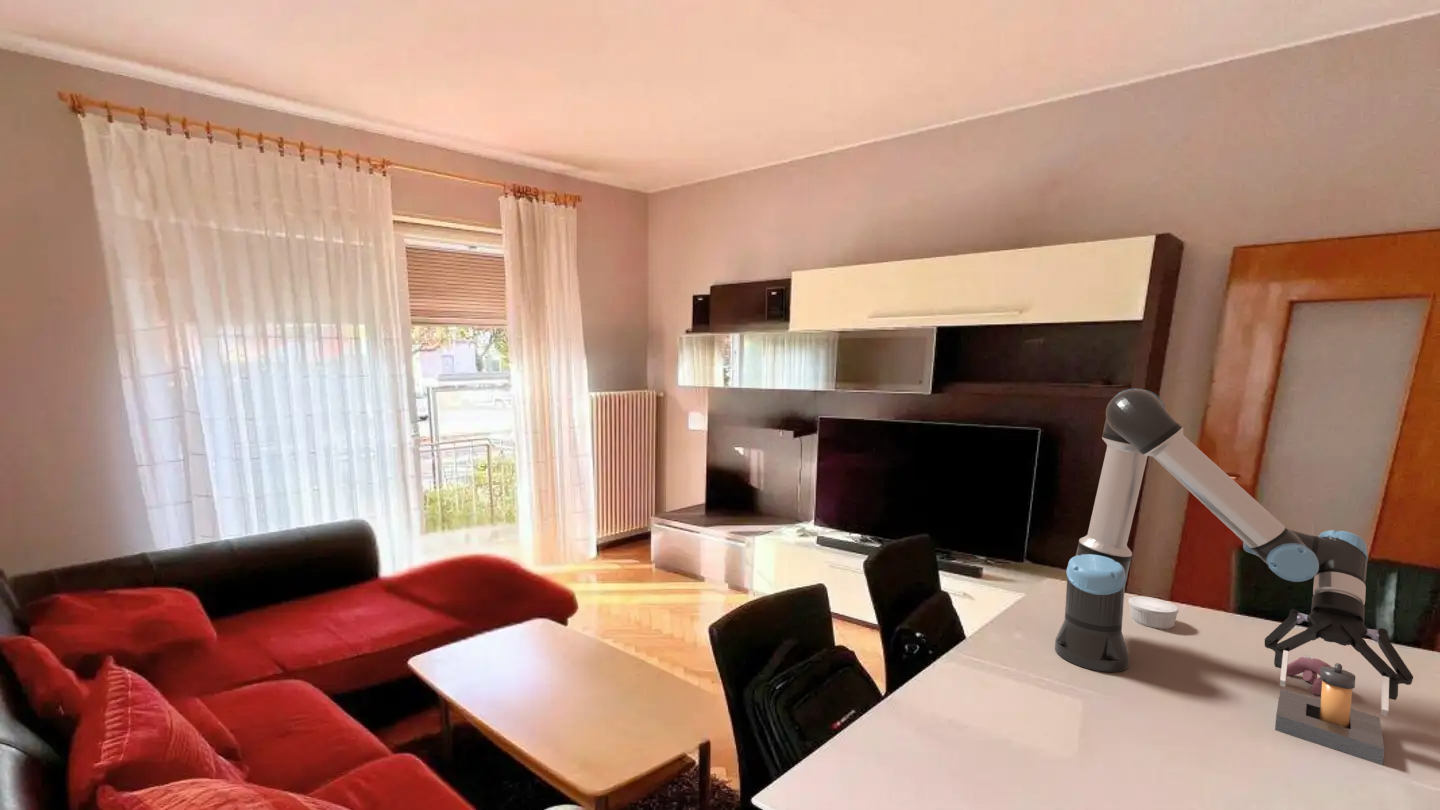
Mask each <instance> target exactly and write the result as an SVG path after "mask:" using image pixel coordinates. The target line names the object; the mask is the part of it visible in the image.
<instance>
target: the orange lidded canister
mask: <svg viewBox="0 0 1440 810" xmlns="http://www.w3.org/2000/svg"><path fill="white" fill-rule="evenodd" d="M1319 678H1320V679H1321V680H1322V691H1321V695H1320V700H1321V704H1320V717H1319V720H1322V721H1325V722H1329V723H1332V724H1335V725H1338V726H1342V727H1345V728H1348V729H1349V723H1350V711H1351V709H1352V708H1351V707H1352V697H1353V689H1355V687H1356V675H1355V674H1353V673H1352V672H1349V671H1348V670H1345V669H1343V665H1342V664H1341V663H1337V662H1336V663H1335V664H1334V666H1332V667H1328V666H1323V667H1321V675H1319Z"/></svg>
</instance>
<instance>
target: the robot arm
mask: <svg viewBox="0 0 1440 810" xmlns="http://www.w3.org/2000/svg"><path fill="white" fill-rule="evenodd" d="M1101 439H1102V440H1103V442H1104V443H1105V444H1106V449H1105V450H1106V451H1105V455H1104V460H1103V464H1102V468H1101V472H1100V477H1099V481H1098V486H1097V490H1096V495H1095V499H1094V504H1093V509H1092V514H1091V517H1090V521H1089V527H1088V531H1087V534H1086V535H1085V536H1083V537H1080V538H1079V540H1078V545H1077V549H1076V553H1075V556H1073V557H1071V558H1070V559H1069V561H1068V564H1067V567H1066V571H1065V572H1066V573H1065V574H1066V595H1065V607H1064V611H1065V612H1064V619H1063V622H1062V625H1061V626H1060V628H1059V631H1058V633H1057V634H1056V637H1055V641H1054V651H1055V652H1056V654H1057V655H1058V656H1059V657H1061V658H1062V659H1064V660H1066V661H1067V662H1069V663H1071V664H1073V665H1076V666H1079V667H1082V668H1084V669H1088V670H1093V671H1098V672H1104V673H1117V672H1118V673H1119V672H1122V671H1126V670H1127V669H1128V668H1129V665H1130V664H1129V663H1130V656H1129V652H1128V648H1127V645H1126V642H1125V638H1124V635H1123V617H1124V616H1123V615H1124V601H1125V600H1124V599H1125V592H1126V591H1125V590H1126V583H1127V581H1128V580H1127V579H1128V573H1129V569H1130V565H1131V561H1132V556H1133V552H1132V551H1131V549H1130V548H1129V546H1128V541H1129V537H1130V534H1131V533H1130V532H1131V529H1132V524H1133V521H1134V520H1133V519H1134V515H1135V511H1136V507H1137V503H1138V498H1139V495H1140V494H1139V493H1140V490H1141V486H1142V481H1143V476H1144V473H1145V468H1146V465H1147V460H1148V457H1151V458H1153V459H1154V460H1155V461H1157V463H1158V464H1160V466H1162V467H1163V468H1164V469H1165V470H1166V471H1168V473H1169V474H1171V476H1172V477H1174V478H1175V479H1176V480H1177V482H1179V484H1181V485H1182V486H1183V487H1184V488H1185V489H1186V490H1188V491H1189V493H1191V494H1192V495H1193V496H1194V497H1195V498H1196V499H1197V500H1198V501H1199V502H1201V504H1202V505H1204V506H1205V508H1207V509H1208V510H1209V511H1210V512H1211V513H1212V514H1213V515H1214V516H1215V517H1216V518H1218V520H1219V521H1221V522H1222V523H1223V524H1224V525H1225V526H1226V527H1227V528H1228V529H1230V531H1232V532H1233V533H1234V534H1235V536H1236V537H1238V539H1240V540H1241V541H1242V542H1243V543H1242V547H1243V550H1244V551H1245V552H1246V553H1249V554H1252V555H1254V556H1257V557H1259V559H1261V560H1262V561H1263V562H1264V563H1265V564H1266V565H1267V566H1268V569H1270V571H1271V572H1272V573H1273V574H1275V575H1276V576H1278V577H1279V578H1280V579H1283V580H1285V581H1289V582H1293V583H1297V582H1298V583H1300V582H1305V581H1308V580H1311V579H1313V588H1312V590H1313V591H1312V594H1313V595H1312V598H1311V610H1310V613H1309V614H1305V613H1301V612H1299V610H1298V609H1296V608H1291V609H1290V610H1289V613H1288V616H1287V617H1286V619H1285V620H1283V621H1282V622H1281V623H1279V625H1278V626H1277V627H1276V628H1275V629H1274V630H1273V631H1271V632H1270V633H1269V634H1268V635H1267V636H1266V637H1265V638H1264V648H1267V649H1270V650H1272V651H1273V652H1274V661H1273V662H1274V663H1273V665H1274V667H1275V668H1277V669H1281V671H1280V677H1279V679H1280V680H1279V686H1280V687H1283V688H1286V681H1287V675H1286V674H1287V664H1289V652H1291V651H1292V650H1295V649H1296V648H1299V647H1301V646H1303V645H1305V644H1307V643H1309V642H1311V641H1315V640H1318V639H1322V640H1324V642H1329V643H1335V644H1337V645H1341V646H1345V647H1347V646H1351V647H1352V648H1353V649H1354V650H1355V651H1356V652H1358V653H1359V654H1361V656H1362V657H1363V658H1364V659H1365V660H1366V661H1368V663H1369V664H1370V665H1371V666H1372V667H1373V668H1374V669H1375V670H1376V671H1377V672H1378V673H1379V674H1380V675H1381V676H1382V679H1381V695H1380V716H1382V717H1388V714H1389V707H1390V702H1389V701H1390V700H1394V701H1397V698H1398V696H1399V684H1400V685H1401V684H1402V685H1407V686H1411V685H1412V683H1413V681H1414V676H1413V674H1412V673H1411V671H1410V669H1409V668H1408V666H1407V665H1406V663H1405V662H1404V661H1403V659H1402V658H1401V656H1400V654H1399V653H1398V652H1397V650H1396V648H1395V647H1394V646H1393V644H1392V642H1391V641H1390V638H1389V633H1388V630H1387V629H1385V628H1382V627H1381V628H1378V629H1372V628H1367V626H1366V625H1365V615H1366V614H1365V613H1366V612H1365V611H1366V610H1365V608H1366V606H1365V603H1366V594H1367V593H1366V590H1367V588H1366V582H1367V581H1366V579H1367V567H1368V562H1369V557H1368V548H1367V544H1366V542H1365V540H1364V539H1363V538H1362V537H1360V536H1359V535H1357V534H1355V533H1352V532H1350V531H1347V530H1339V531H1337V530H1336V529H1335V530H1334V529H1331V530H1330V529H1329V530H1325V531H1323V532H1321V533H1320V534H1318V535H1312V534H1308V533H1304V532H1301V531H1296V530H1293V529H1289V528H1287V527H1286V526H1285V525H1284V524H1283V523H1281V522H1280V521H1279V520H1278V519H1277V518H1276V517H1275V516H1273V514H1271V513H1270V511H1268V510H1267V509H1266V508H1265V507H1264V506H1263V505H1261V503H1259V502H1258V501H1257V500H1256V499H1255V498H1254V497H1253V496H1252V495H1250V493H1248V492H1247V491H1246V490H1245V489H1244V488H1243V487H1242V486H1240V485H1239V484H1238V483H1237V482H1236V481H1235V480H1234V479H1233V478H1231V476H1229V475H1228V474H1227V472H1225V471H1224V470H1223V469H1221V467H1220V466H1218V465H1217V464H1216V463H1215V462H1214V461H1213V460H1211V459H1210V457H1208V456H1207V455H1206V454H1205V453H1204V452H1203V451H1202V450H1201V449H1199V447H1197V446H1196V445H1195V444H1194V443H1193V442H1191V441H1190V439H1189V438H1187V437H1186V436H1185V435H1184V427H1183V426H1181V424H1179V423H1178V422H1177V421H1176V420H1175V419H1174V418H1173V417H1172V416H1171V414H1170V413H1169V412H1168V410H1167V409H1166V406H1165V403H1164V401H1163V400H1162V399H1161V398H1160V396H1159V395H1157V394H1156V393H1155V392H1153V391H1150V390H1147V389H1143V388H1130V389H1125V390H1122V391H1120V392H1118V393H1117V394H1115V396H1114V397H1112V399H1110V401H1109V402H1108V403H1107V406H1106V409H1105V422H1104V426H1103V432H1102V436H1101ZM1303 622H1307V624H1308V625H1309V626H1308V627H1307V628H1306V629H1305V630H1303V631H1300V632H1299V633H1296V634H1294V635H1292V636H1290V637H1289V638H1286V639H1285V640H1282V639H1283V638H1284V637H1285V636H1286V635H1287V634H1288V633H1290V632H1291V631H1292V630H1293V629H1294V627H1296V626H1297V624H1302V623H1303ZM1367 636H1368V637H1370V638H1371V639H1372V641H1374V643H1377V644H1378V646H1379V649H1380V650H1381V652H1382V653H1383V655H1384V657H1386V660H1387V661H1388V662H1389V664H1390V665H1391V666H1392V667H1391V666H1390V665H1389V664H1387V662H1386V661H1385V660H1383V658H1381V656H1380V655H1379V654H1378V653H1377V652H1376V651H1374V649H1372V648H1371V647H1370V645H1368V642H1366V640H1365V639H1364V638H1365V637H1367ZM1281 640H1282V641H1281ZM1392 668H1393V669H1392Z"/></svg>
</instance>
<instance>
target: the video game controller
mask: <svg viewBox="0 0 1440 810" xmlns="http://www.w3.org/2000/svg"><path fill="white" fill-rule="evenodd" d="M1323 666H1328V667H1333V666H1332V665H1330V664H1329V663H1328V662H1325V661H1323V660H1322V659H1319V658H1316V657H1311V656H1308V655H1304V656H1301V657H1299V658H1297V659H1295V660H1294V661H1292V662H1288V664H1287V674H1286V676H1289V677H1291V676H1295V675H1299V674H1302V680H1304V681H1305V682H1308V683H1311V684H1313V685H1312V686H1311V687H1310V692H1311V693H1312V695H1315V696H1321V691H1322V680H1321V679H1320V677H1318V676H1320V675H1321V667H1323Z"/></svg>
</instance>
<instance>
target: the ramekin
mask: <svg viewBox="0 0 1440 810" xmlns="http://www.w3.org/2000/svg"><path fill="white" fill-rule="evenodd" d="M1128 605H1129V611H1130V616H1131V618H1132V620H1133V619H1134V620H1135V621H1134V622H1136V621H1137V622H1138V624H1139V623H1141V624H1140V625H1142V624H1143V625H1142V626H1145V625H1146V626H1145V627H1148V626H1149V627H1148V628H1152V627H1153V628H1152V629H1157V628H1159V630H1168V629H1171V628H1173V627H1174V626H1175V625H1176V620H1177V616H1178V613H1179V607H1178V606H1177V605H1175V604H1174V603H1172V602H1170V601H1166V600H1163V599H1159V598H1154V597H1150V596H1143V595H1142V596H1132V597H1129V598H1128ZM1137 622H1136V623H1137Z"/></svg>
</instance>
